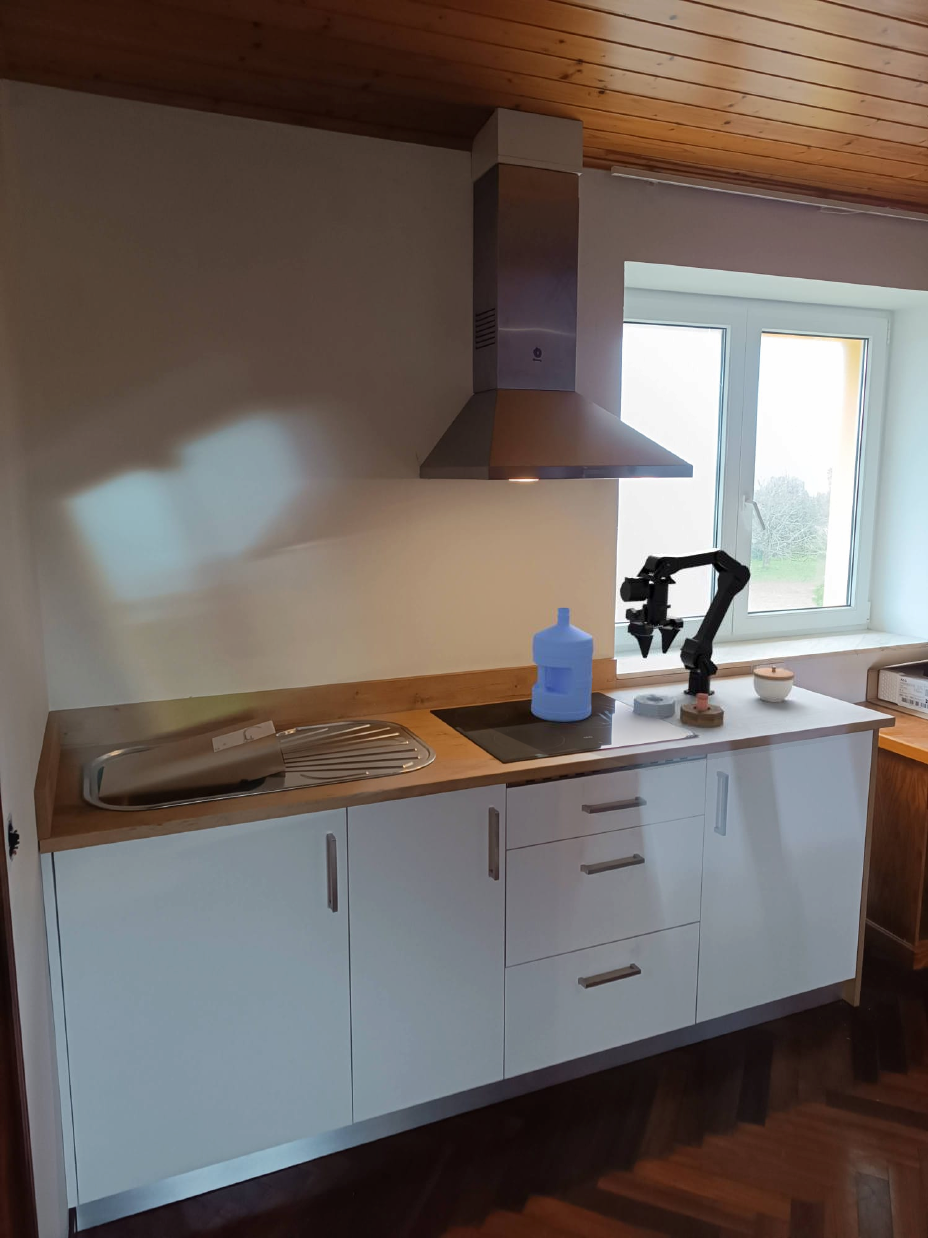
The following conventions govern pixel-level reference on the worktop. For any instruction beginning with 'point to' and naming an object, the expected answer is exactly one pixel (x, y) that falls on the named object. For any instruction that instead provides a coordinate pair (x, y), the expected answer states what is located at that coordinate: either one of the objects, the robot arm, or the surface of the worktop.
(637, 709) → the blue bead
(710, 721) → the walnut bead
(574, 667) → the water jug
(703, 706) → the pink rounded cylinder
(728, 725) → the worktop surface
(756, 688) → the lidded jar
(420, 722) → the worktop surface
